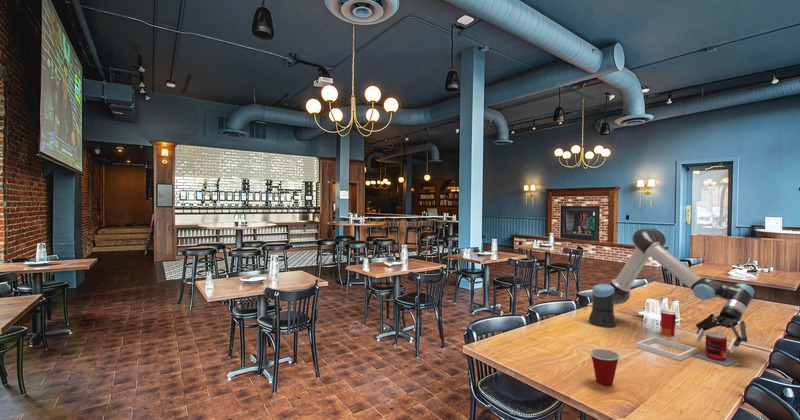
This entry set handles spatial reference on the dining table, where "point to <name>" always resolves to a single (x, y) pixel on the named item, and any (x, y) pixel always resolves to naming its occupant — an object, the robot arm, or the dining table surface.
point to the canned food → (716, 346)
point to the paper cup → (668, 321)
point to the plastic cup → (604, 365)
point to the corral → (688, 351)
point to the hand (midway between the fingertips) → (712, 345)
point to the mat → (726, 362)
